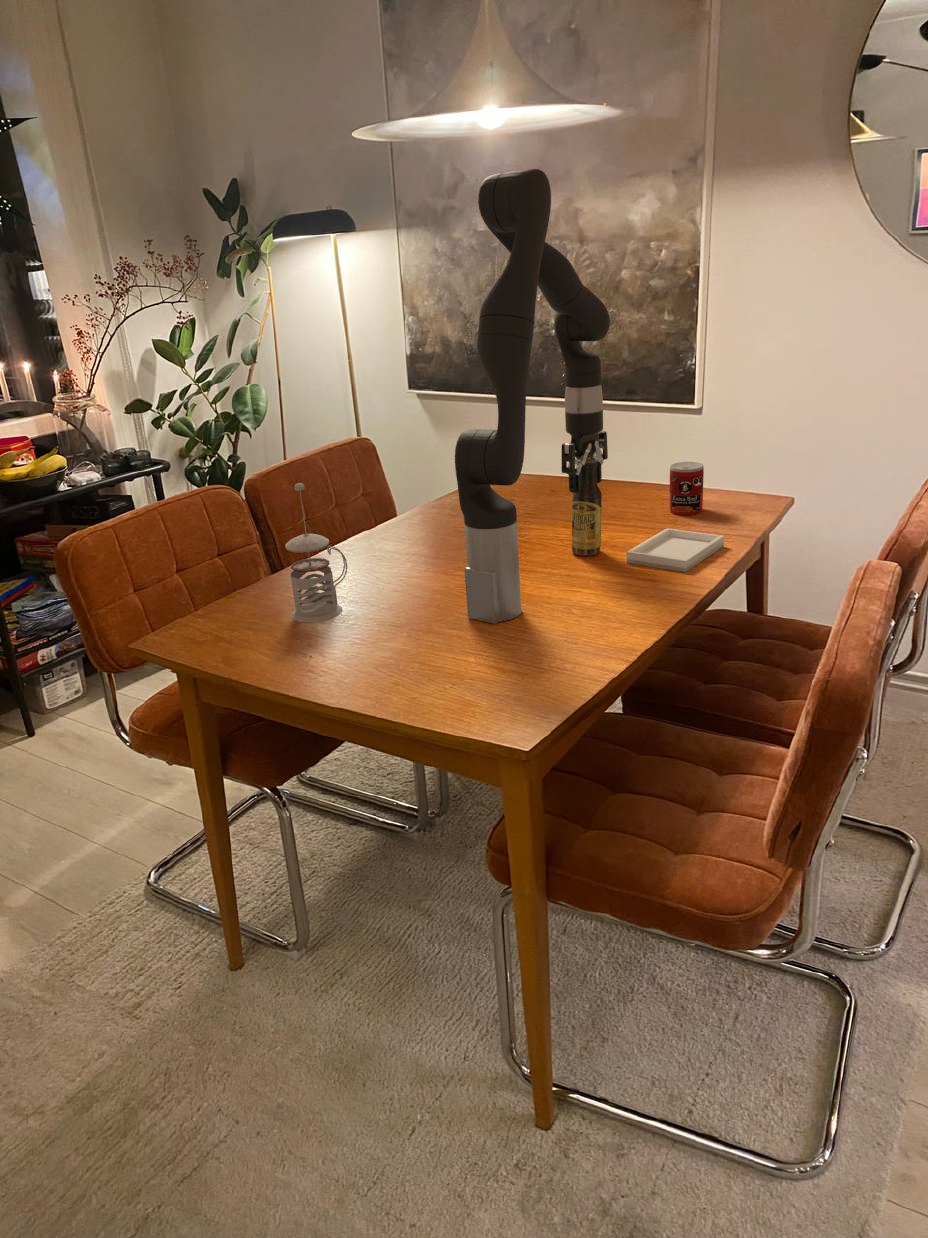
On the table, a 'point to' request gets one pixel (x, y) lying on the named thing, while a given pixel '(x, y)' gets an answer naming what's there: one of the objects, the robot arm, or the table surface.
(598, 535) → the sauce bottle
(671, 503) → the canned food
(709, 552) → the white tray
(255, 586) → the table surface
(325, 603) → the french press
